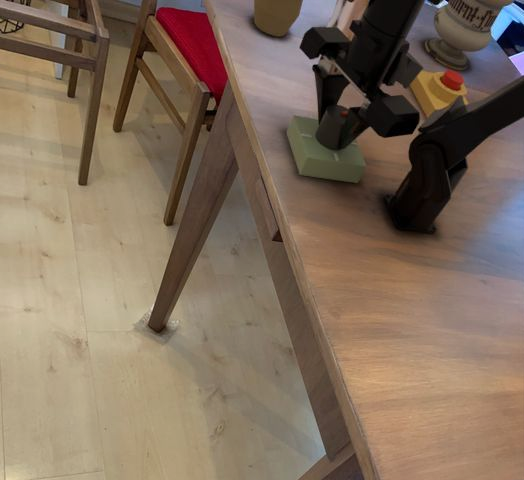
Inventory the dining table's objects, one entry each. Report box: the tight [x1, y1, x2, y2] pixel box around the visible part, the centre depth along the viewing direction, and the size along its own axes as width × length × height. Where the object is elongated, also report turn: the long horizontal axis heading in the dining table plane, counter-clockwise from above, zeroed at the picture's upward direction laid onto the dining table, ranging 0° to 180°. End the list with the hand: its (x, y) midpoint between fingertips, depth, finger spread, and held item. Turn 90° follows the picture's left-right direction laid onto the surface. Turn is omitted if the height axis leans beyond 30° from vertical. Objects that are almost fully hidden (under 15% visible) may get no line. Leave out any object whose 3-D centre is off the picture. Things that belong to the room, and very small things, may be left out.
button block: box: [409, 70, 470, 119], centre depth 99 cm, size 12×9×4 cm
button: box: [440, 69, 465, 91], centre depth 97 cm, size 4×4×2 cm
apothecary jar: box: [424, 0, 516, 71], centre depth 107 cm, size 12×12×18 cm
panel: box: [286, 114, 368, 184], centre depth 78 cm, size 9×9×3 cm
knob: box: [315, 104, 349, 150], centre depth 75 cm, size 4×4×4 cm
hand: (331, 137), depth 77 cm, fingers closed on knob, 4 cm apart
